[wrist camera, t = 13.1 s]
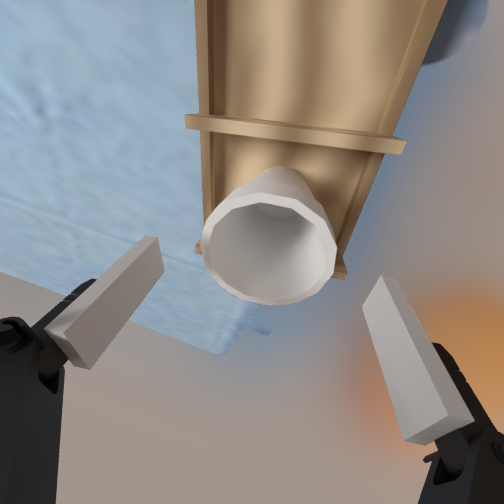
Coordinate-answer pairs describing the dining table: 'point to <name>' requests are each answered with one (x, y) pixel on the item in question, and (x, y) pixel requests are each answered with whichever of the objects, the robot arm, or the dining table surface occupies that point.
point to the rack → (306, 94)
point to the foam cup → (270, 240)
